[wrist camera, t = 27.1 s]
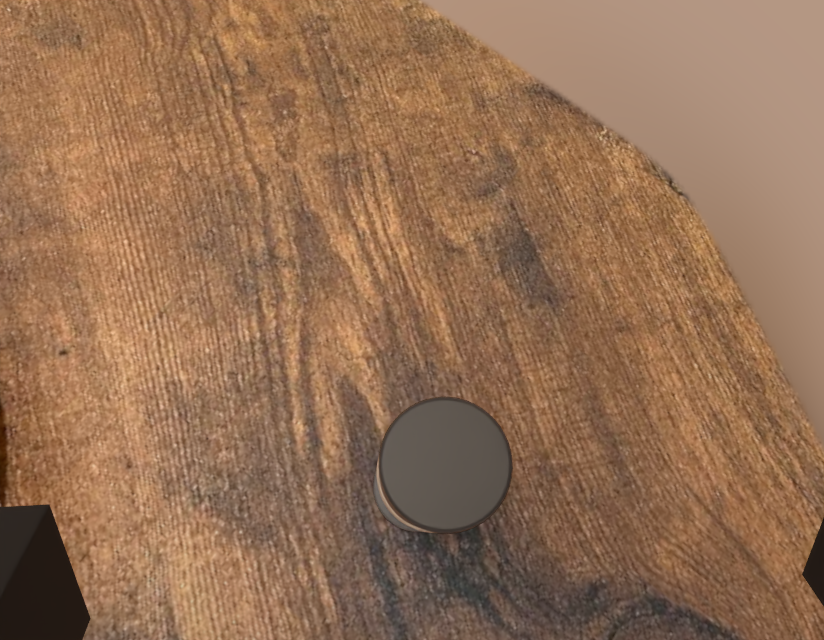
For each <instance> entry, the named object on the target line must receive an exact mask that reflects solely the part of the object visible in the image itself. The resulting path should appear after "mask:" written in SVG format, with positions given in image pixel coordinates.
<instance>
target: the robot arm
mask: <svg viewBox="0 0 824 640" xmlns="http://www.w3.org/2000/svg"><path fill="white" fill-rule="evenodd" d="M802 575H803V576H804V578H805V579H806V581H807V582H808V584H809V585H810V587H811V588H812V590H813V591H814V593H815V594H816V596H817V597H818V599H819V600H820V602H821V603H822V604H823V606H824V519H823V521H822V524H821V527H820V529H819V532H818V534H817V537H816V540H815V542H814V545H813V547H812V550H811V553H810V555H809V558H808V560H807V563H806V566H805V568H804V571H803V574H802ZM89 621H90V616H89V613H88V610H87V608H86V605H85V602H84V599H83V597H82V594H81V591H80V588H79V585H78V583H77V580H76V577H75V574H74V572H73V569H72V566H71V563H70V561H69V558H68V555H67V552H66V550H65V547H64V544H63V541H62V538H61V536H60V533H59V530H58V527H57V525H56V522H55V519H54V516H53V514H52V511H51V508H50V505H33V506H15V507H0V640H82V639H83V636H84V634H85V631H86V629H87V626H88V623H89Z"/></svg>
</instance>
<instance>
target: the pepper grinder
mask: <svg viewBox="0 0 824 640" xmlns="http://www.w3.org/2000/svg"><path fill="white" fill-rule="evenodd" d="M512 469H513V466H512V455H511V449H510V446H509V443H508V440H507V438H506V436H505V434H504V432H503V430H502V429H501V427H500V425H499V424H498V423H497V422H496V420H495V419H494V418H493V417H492V416H491V415H490V414H489V413H487V412H486V411H485V410H484V409H482V408H481V407H479V406H477V405H476V404H474V403H471V402H469V401H467V400H463V399H460V398H454V397H435V398H430V399H426V400H423V401H420V402H418V403H415V404H414V405H412V406H410V407H408V408H407V409H406V410H404V411H403V412H402V413H401V414H400V415H399V416H398V417H397V418H396V419H395V420H394V421H393V423H392V424H391V425H390V427H389V428H388V430H387V432H386V434H385V436H384V438H383V441H382V444H381V448H380V453H379V457H378V462H377V469H376V472H375V475H374V481H373V491H374V497H375V501H376V503H377V506H378V508H379V510H380V511H381V513H382V514H383V516H384V517H385V518H386V519H387V520H388V521H389V522H391V523H392V524H393V525H395V526H397V527H399V528H401V529H403V530H407V531H411V532H429V533H441V534H452V533H459V532H463V531H467V530H470V529H472V528H474V527H476V526H478V525H480V524H481V523H483V522H485V521H486V520H487V519H488V518H490V517H491V516H492V515H493V514H494V513H495V512H496V510H497V509H498V508H499V507H500V505H501V504H502V502H503V500H504V498H505V497H506V495H507V492H508V489H509V487H510V483H511V478H512Z"/></svg>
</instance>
